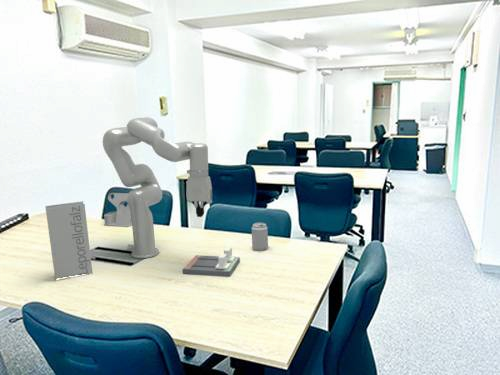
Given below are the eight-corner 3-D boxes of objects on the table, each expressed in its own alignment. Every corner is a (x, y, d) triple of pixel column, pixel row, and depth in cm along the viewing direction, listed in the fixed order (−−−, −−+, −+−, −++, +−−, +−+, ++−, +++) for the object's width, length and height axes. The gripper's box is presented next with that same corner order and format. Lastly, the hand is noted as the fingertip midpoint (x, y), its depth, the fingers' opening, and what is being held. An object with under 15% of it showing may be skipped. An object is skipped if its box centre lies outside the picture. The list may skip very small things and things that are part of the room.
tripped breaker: (215, 268, 169) (214, 257, 168) (219, 264, 174) (218, 253, 173) (227, 269, 168) (226, 258, 167) (230, 264, 173) (230, 253, 172)
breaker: (221, 261, 177) (220, 250, 176) (224, 257, 182) (223, 246, 181) (232, 262, 176) (231, 251, 175) (235, 257, 181) (234, 247, 180)
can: (266, 251, 193) (266, 226, 191) (250, 251, 195) (249, 226, 192) (269, 246, 200) (268, 222, 198) (253, 245, 202) (253, 221, 200)
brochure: (55, 281, 169) (45, 208, 163) (54, 276, 174) (45, 206, 168) (92, 273, 175) (84, 203, 169) (90, 269, 180) (82, 201, 174)
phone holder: (102, 225, 245) (99, 195, 242) (113, 221, 255) (110, 192, 251) (128, 227, 240) (125, 196, 237) (138, 222, 250) (135, 193, 246)
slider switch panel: (183, 273, 171) (182, 268, 171) (196, 259, 187) (196, 255, 186) (230, 276, 167) (229, 271, 166) (239, 261, 182) (239, 257, 182)
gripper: (178, 174, 171) (180, 217, 175) (213, 176, 168) (213, 220, 172) (185, 171, 178) (187, 212, 182) (219, 172, 175) (219, 215, 179)
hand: (200, 216), depth 177 cm, fingers closed
